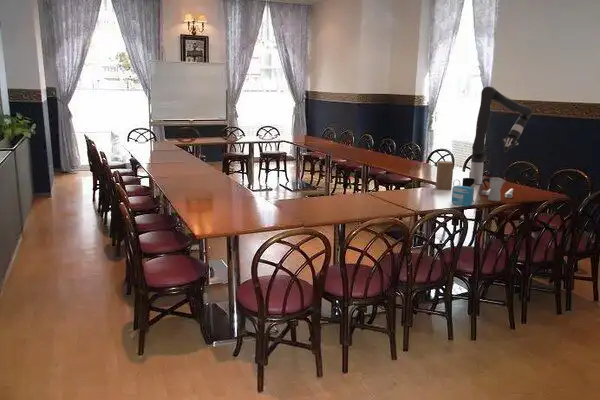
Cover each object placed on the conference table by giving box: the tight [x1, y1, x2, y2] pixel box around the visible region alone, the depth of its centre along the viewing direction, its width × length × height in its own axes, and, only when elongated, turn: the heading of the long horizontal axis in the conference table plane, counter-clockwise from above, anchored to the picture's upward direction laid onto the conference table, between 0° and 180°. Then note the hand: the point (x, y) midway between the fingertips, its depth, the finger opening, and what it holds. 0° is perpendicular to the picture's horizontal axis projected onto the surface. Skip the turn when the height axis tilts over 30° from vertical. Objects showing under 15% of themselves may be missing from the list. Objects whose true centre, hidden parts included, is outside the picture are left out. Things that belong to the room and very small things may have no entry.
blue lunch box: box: [452, 177, 476, 203], centre depth 329 cm, size 9×14×15 cm, turn 58°
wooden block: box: [435, 160, 454, 191], centre depth 367 cm, size 10×10×20 cm
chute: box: [481, 188, 514, 199], centre depth 353 cm, size 20×22×2 cm
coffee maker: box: [482, 173, 507, 202], centre depth 331 cm, size 15×9×18 cm, turn 65°
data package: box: [450, 184, 474, 207], centre depth 316 cm, size 12×4×12 cm, turn 48°
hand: (504, 151), depth 357 cm, fingers closed
